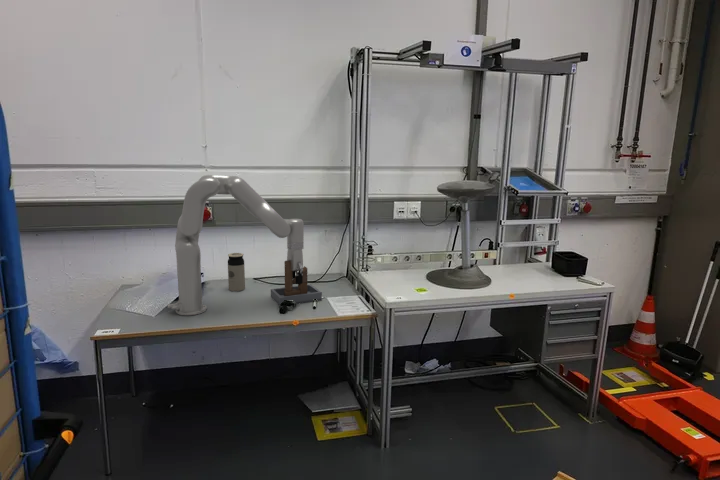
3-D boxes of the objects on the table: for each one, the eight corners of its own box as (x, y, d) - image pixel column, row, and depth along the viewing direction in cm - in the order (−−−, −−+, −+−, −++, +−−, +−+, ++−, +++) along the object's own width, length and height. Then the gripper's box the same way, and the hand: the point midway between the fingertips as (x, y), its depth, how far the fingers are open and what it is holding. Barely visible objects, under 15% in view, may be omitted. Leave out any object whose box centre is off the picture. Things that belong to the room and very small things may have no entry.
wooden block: (307, 296, 229) (307, 260, 225) (286, 299, 224) (285, 262, 220) (304, 294, 232) (304, 258, 229) (283, 297, 227) (283, 260, 224)
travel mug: (239, 286, 247) (238, 251, 243) (248, 289, 241) (247, 254, 238) (225, 289, 241) (224, 254, 237) (234, 292, 236) (232, 257, 232)
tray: (279, 306, 217) (279, 297, 217) (270, 297, 230) (270, 289, 229) (321, 300, 227) (321, 292, 226) (310, 291, 239) (310, 284, 238)
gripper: (281, 242, 229) (282, 277, 232) (293, 249, 214) (294, 286, 217) (296, 241, 232) (296, 275, 236) (309, 248, 217) (309, 285, 221)
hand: (295, 280), depth 226 cm, fingers open, 9 cm apart
